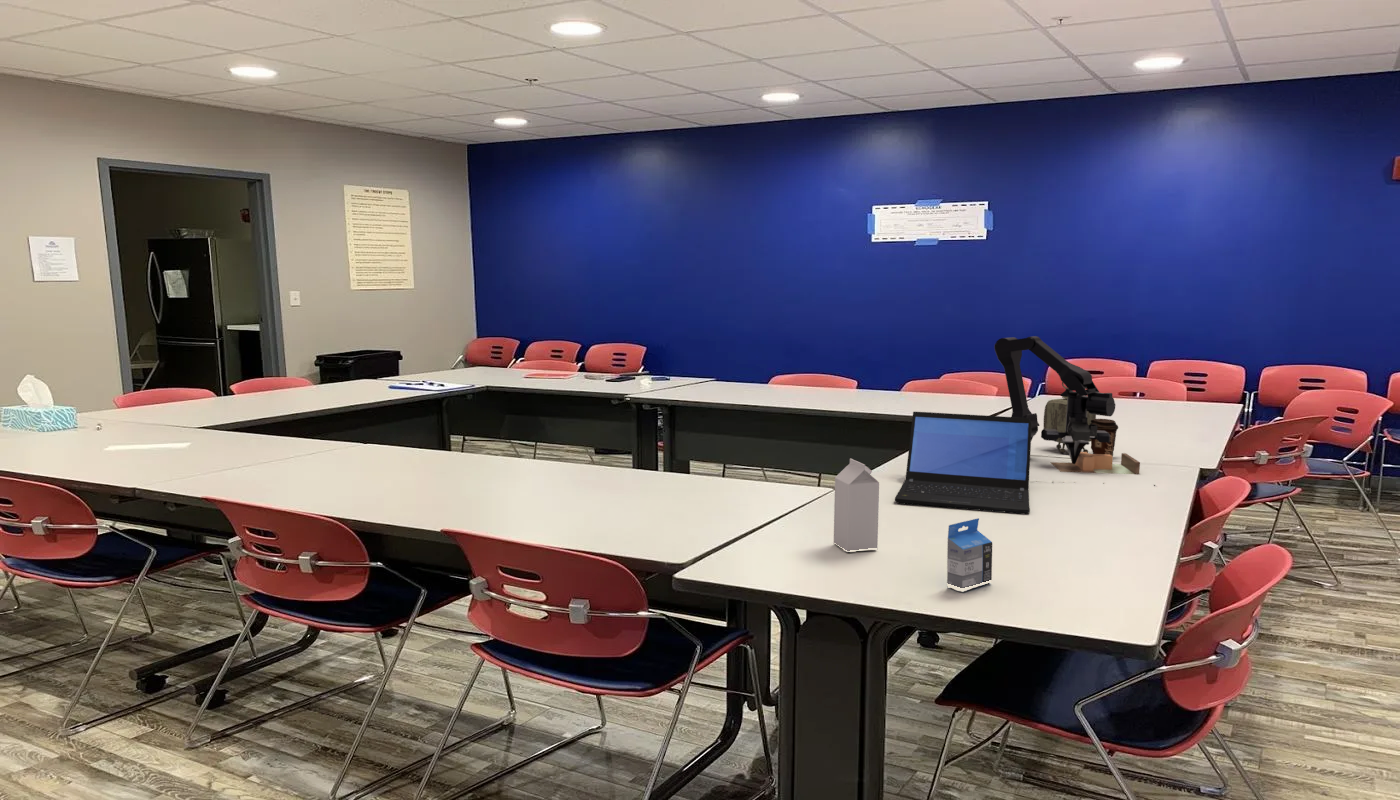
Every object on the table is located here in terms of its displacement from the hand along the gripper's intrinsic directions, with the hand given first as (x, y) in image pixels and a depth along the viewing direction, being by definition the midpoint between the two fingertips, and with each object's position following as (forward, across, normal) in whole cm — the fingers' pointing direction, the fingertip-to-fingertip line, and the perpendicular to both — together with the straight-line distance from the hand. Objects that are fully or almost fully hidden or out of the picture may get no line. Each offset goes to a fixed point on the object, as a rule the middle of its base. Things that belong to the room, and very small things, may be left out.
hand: (1073, 463), depth 284 cm
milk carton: (+3, -66, -92) cm, 113 cm away
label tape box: (+3, -44, -114) cm, 123 cm away
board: (+2, +6, 0) cm, 6 cm away
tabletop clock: (+2, +4, +30) cm, 31 cm away
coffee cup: (+2, +13, +18) cm, 22 cm away
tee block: (+1, +6, 0) cm, 6 cm away
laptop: (+3, -36, -36) cm, 51 cm away
